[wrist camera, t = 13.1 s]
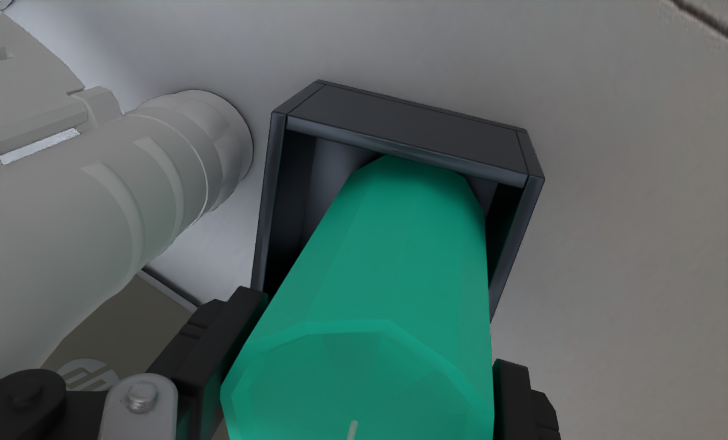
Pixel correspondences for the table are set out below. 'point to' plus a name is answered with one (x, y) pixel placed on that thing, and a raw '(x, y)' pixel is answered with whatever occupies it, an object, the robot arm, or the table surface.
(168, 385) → the robot arm
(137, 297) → the laptop
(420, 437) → the candle
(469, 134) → the black open box
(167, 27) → the table surface
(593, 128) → the table surface
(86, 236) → the binoculars
